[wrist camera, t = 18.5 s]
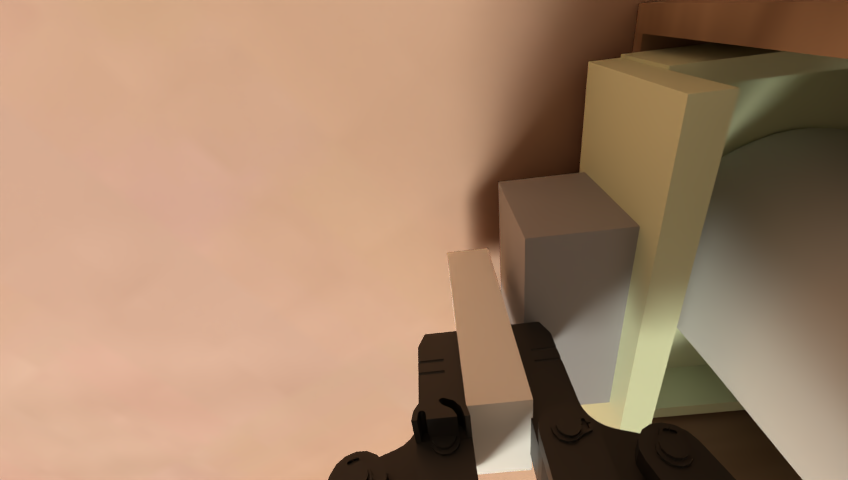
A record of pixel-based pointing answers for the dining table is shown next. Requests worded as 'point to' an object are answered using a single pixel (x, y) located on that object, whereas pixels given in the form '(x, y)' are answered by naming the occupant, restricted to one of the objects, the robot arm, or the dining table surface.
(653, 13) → the cubby
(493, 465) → the robot arm
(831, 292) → the mug
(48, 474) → the dining table surface
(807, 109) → the tray
